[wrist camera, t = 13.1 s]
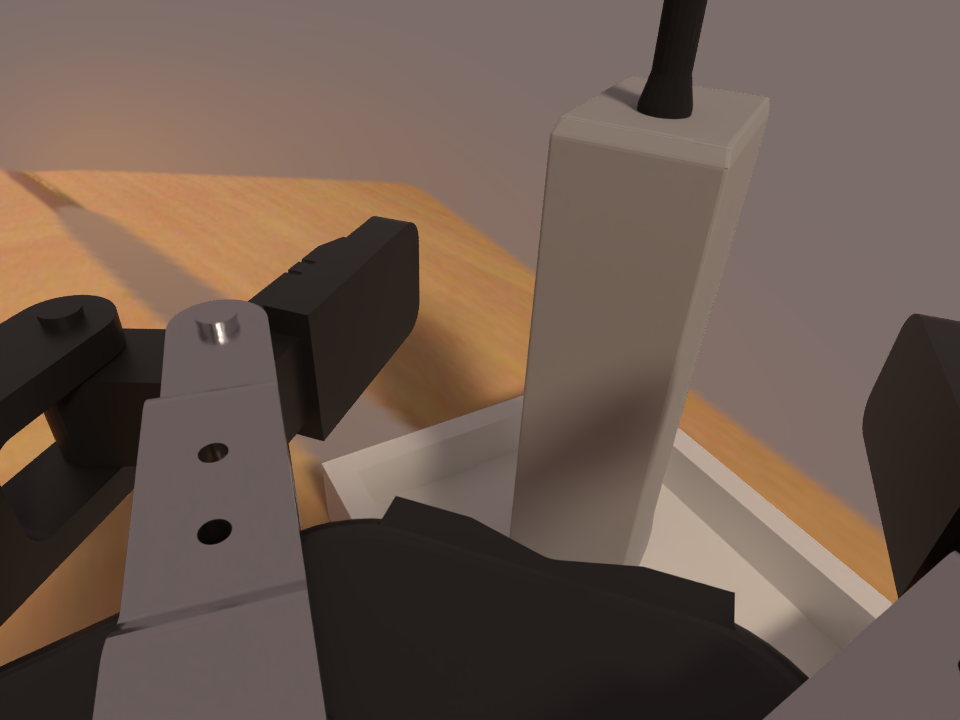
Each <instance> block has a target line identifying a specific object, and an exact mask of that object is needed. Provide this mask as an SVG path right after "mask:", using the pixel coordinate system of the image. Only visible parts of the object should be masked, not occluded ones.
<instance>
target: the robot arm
mask: <svg viewBox="0 0 960 720" xmlns="http://www.w3.org/2000/svg"><path fill="white" fill-rule="evenodd" d="M418 310H419V236H418V230H417V227H416V225H415V224H414V223H411V222H405V221H400V220H394V219H388V218H383V217H377V216H373V217H371V218H370V219H368V220H367V221H366V222H365V223H364V224H362V225H361V226H360V227H359V228H357V229H356V230H355V231H354V232H352V233H351V234H350V235H349V236H348V237H342V238H339V239H336V240H334V241H331V242H328V243H326V244H323V245H321V246H318V247H317V248H316V249H314V250H313V251H312V252H310V253H309V254H308V255H307V256H305V257H304V258H303V259H302V262H298V263H296V264H295V265H294V266H293V267H291V268H290V269H289V270H288V273H284V274H282V275H281V276H280V277H278V278H277V279H276V280H275V281H273V282H272V283H271V284H270V285H268V286H267V287H266V288H264V289H263V290H262V291H261V292H259V293H258V294H257V295H255V296H254V297H253V298H252V299H250V300H249V301H248V302H247V301H242V300H216V301H209V302H205V303H201V304H198V305H195V306H192V307H190V308H187V309H185V310H183V311H182V312H180V313H178V314H177V315H176V316H174V317H173V318H172V319H171V320H170V321H169V323H168V325H167V327H166V329H122V326H121V322H120V319H119V316H118V313H117V310H116V307H115V305H114V304H113V303H112V302H111V301H110V300H108V299H105V298H102V297H98V296H92V295H73V296H64V297H59V298H54V299H50V300H47V301H44V302H41V303H38V304H35V305H33V306H31V307H28V308H27V309H25V310H23V311H21V312H19V313H18V314H16V315H14V316H13V317H11V318H9V319H8V320H6V321H4V322H3V323H1V324H0V450H1V448H2V447H3V445H4V444H5V443H6V442H7V441H8V440H9V439H10V438H11V437H13V436H14V435H15V434H16V433H18V432H19V431H20V430H22V429H23V428H24V427H25V426H27V425H28V424H29V423H31V422H32V421H33V420H34V419H36V418H37V417H38V416H40V415H41V414H42V413H44V415H45V417H46V420H47V422H48V424H49V427H50V429H51V431H52V433H53V436H54V438H55V440H56V442H54V443H53V444H52V445H51V446H50V447H48V448H47V449H46V450H45V451H44V452H42V453H41V454H40V455H39V456H38V457H36V458H35V459H34V460H33V461H32V462H30V463H29V464H28V465H27V466H26V467H24V468H23V469H22V470H21V471H20V472H19V473H17V474H16V475H15V476H14V477H13V478H11V479H10V480H9V481H8V482H7V483H5V484H4V485H3V486H2V487H1V486H0V626H1V625H2V624H3V623H4V622H5V621H6V620H7V619H8V618H9V617H10V616H11V615H12V614H13V613H14V612H15V611H16V610H17V609H18V608H19V607H20V606H21V605H22V604H23V603H24V602H25V601H26V599H27V598H28V597H29V596H30V595H31V594H32V593H33V592H34V591H35V590H36V589H37V588H38V587H39V586H40V585H41V584H42V583H43V582H44V581H45V580H46V579H47V578H48V577H49V576H50V575H51V574H52V573H53V572H54V571H55V570H56V568H57V567H58V566H59V565H60V564H61V563H62V562H63V561H64V560H65V559H66V558H67V557H68V556H69V555H70V554H71V553H72V552H73V551H74V550H75V549H76V548H77V547H78V546H79V545H80V544H81V543H82V542H83V541H84V540H85V538H86V537H87V536H88V535H89V534H90V533H91V532H92V531H93V530H94V529H95V528H96V527H97V526H98V525H99V524H100V523H101V522H102V521H103V520H104V519H105V518H106V517H107V516H108V515H109V514H110V513H111V512H112V511H113V510H114V508H115V507H116V506H117V505H118V504H119V503H120V502H121V501H122V500H123V499H124V498H125V497H126V496H127V495H128V494H129V493H130V492H131V491H132V490H133V489H134V493H133V502H132V511H131V520H130V529H129V538H128V546H127V555H126V564H125V573H124V582H123V591H122V600H121V608H120V612H119V613H117V614H115V615H113V616H111V617H108V618H106V619H104V620H102V621H100V622H97V623H95V624H93V625H91V626H89V627H86V628H84V629H82V630H80V631H78V632H75V633H73V634H71V635H69V636H67V637H64V638H62V639H60V640H58V641H56V642H53V643H51V644H49V645H47V646H45V647H43V648H40V649H38V650H36V651H34V652H32V653H29V654H27V655H25V656H23V657H21V658H18V659H16V660H14V661H12V662H10V663H7V664H5V665H3V666H1V667H0V720H960V321H954V320H949V319H943V318H937V317H932V316H926V315H921V314H913V315H911V316H910V317H909V318H908V319H907V320H906V322H905V323H904V325H903V327H902V328H901V330H900V333H899V335H898V337H897V339H896V341H895V343H894V345H893V347H892V350H891V351H890V354H889V356H888V358H887V360H886V362H885V364H884V366H883V368H882V371H881V373H880V375H879V377H878V379H877V381H876V383H875V385H874V387H873V390H872V392H871V394H870V396H869V398H868V401H867V404H866V407H865V412H864V417H863V428H862V429H863V437H864V442H865V447H866V452H867V456H868V461H869V465H870V470H871V474H872V479H873V484H874V489H875V493H876V498H877V502H878V507H879V511H880V516H881V521H882V526H883V530H884V535H885V539H886V544H887V549H888V553H889V558H890V563H891V567H892V572H893V576H894V581H895V586H896V590H897V595H898V600H897V601H896V602H894V603H893V604H892V605H891V606H890V607H889V608H888V609H887V610H885V611H884V612H883V613H882V614H881V615H880V616H879V617H878V618H876V619H875V620H874V621H873V622H872V623H871V624H870V625H869V626H867V627H866V628H865V629H864V630H863V631H862V632H861V633H860V634H858V635H857V636H856V637H855V638H854V639H853V640H852V641H851V642H849V643H848V644H847V645H846V646H845V647H844V648H843V649H842V650H840V651H839V652H838V653H837V654H836V655H835V656H834V657H833V658H831V659H830V660H829V661H828V662H827V663H826V664H825V665H824V666H823V667H821V668H820V669H819V670H818V671H817V672H816V673H815V674H814V675H812V676H811V677H810V678H809V677H808V676H807V675H806V674H805V673H804V672H802V671H801V670H800V669H799V668H798V667H797V666H796V665H795V664H794V663H793V662H792V661H791V660H789V659H788V658H787V657H786V656H784V655H783V654H782V653H780V652H779V651H778V650H777V649H775V648H774V647H773V646H772V645H770V644H769V643H767V642H766V641H764V640H763V639H761V638H760V637H758V636H757V635H755V634H753V633H752V632H750V631H749V630H747V629H745V628H744V627H742V626H740V625H738V624H736V623H734V618H735V593H734V592H731V591H727V590H724V589H720V588H717V587H713V586H710V585H706V584H703V583H699V582H696V581H692V580H689V579H685V578H682V577H678V576H675V575H671V574H668V573H664V572H661V571H657V570H654V569H650V568H647V567H643V566H630V565H617V564H604V563H591V562H578V561H565V560H555V559H551V558H547V557H545V556H543V555H540V554H539V553H537V552H535V551H533V550H531V549H529V548H527V547H526V546H524V545H522V544H520V543H518V542H516V541H514V540H513V539H511V538H509V537H507V536H505V535H503V534H501V533H500V532H498V531H496V530H494V529H492V528H490V527H488V526H487V525H485V524H483V523H481V522H479V521H477V520H475V519H474V518H472V517H468V516H465V515H461V514H458V513H454V512H451V511H447V510H444V509H440V508H437V507H433V506H430V505H426V504H423V503H419V502H416V501H412V500H409V499H405V498H402V497H398V496H395V498H394V499H393V501H392V503H391V504H390V506H389V508H388V509H387V511H386V513H385V514H384V516H383V518H382V519H378V518H363V519H349V520H341V521H334V522H330V523H325V524H321V525H317V526H313V527H310V528H307V529H304V530H302V527H301V521H300V514H299V508H298V501H297V495H296V488H295V482H294V475H293V469H292V462H291V456H290V450H289V444H288V443H289V442H290V441H291V440H292V439H293V437H294V436H295V435H296V434H299V435H303V436H307V437H310V438H314V439H317V440H321V441H324V440H325V439H326V438H327V436H328V435H329V434H330V433H331V432H332V430H333V429H334V428H335V427H336V425H337V424H338V423H339V422H340V420H341V419H342V418H343V417H344V415H345V414H346V413H347V412H348V410H349V409H350V408H351V407H352V405H353V404H354V403H355V402H356V400H357V399H358V398H359V397H360V395H361V394H362V393H363V392H364V390H365V389H366V388H367V387H368V385H369V384H370V383H371V382H372V380H373V379H374V378H375V377H376V375H377V374H378V373H379V372H380V370H381V369H382V368H383V367H384V365H385V364H386V363H387V362H388V360H389V359H390V358H391V357H392V355H393V354H394V353H395V352H396V350H397V349H398V348H399V347H400V345H401V344H402V343H403V342H404V340H405V339H406V338H407V337H408V335H409V334H410V333H411V331H412V329H413V327H414V325H415V322H416V319H417V315H418Z"/></svg>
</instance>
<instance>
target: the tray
mask: <svg viewBox="0 0 960 720" xmlns="http://www.w3.org/2000/svg"><path fill="white" fill-rule="evenodd" d="M523 398H524V395H522V396H519V397H516V398H513V399H510V400H507V401H504V402H501V403H498V404H495V405H492V406H490V407H487V408H484V409H481V410H478V411H475V412H472V413H469V414H466V415H463V416H460V417H457V418H454V419H451V420H448V421H445V422H442V423H439V424H436V425H433V426H430V427H427V428H424V429H421V430H418V431H415V432H412V433H409V434H406V435H403V436H401V437H398V438H395V439H392V440H389V441H386V442H383V443H380V444H377V445H374V446H371V447H368V448H365V449H362V450H359V451H356V452H353V453H350V454H347V455H344V456H341V457H338V458H335V459H332V460H329V461H326V462H323V463H322V471H323V479H324V487H325V494H326V502H327V510H328V517H329V519H330V521H331V522H334V521H341V520H349V519H363V518H378V519H382V518H383V516H384V514H385V513H386V511H387V509H388V508H389V506H390V504H391V503H392V501H393V499H394V498H395V496H398V497H402V498H405V499H409V500H412V501H416V502H419V503H423V504H426V505H430V506H433V507H437V508H440V509H444V510H447V511H451V512H454V513H458V514H461V515H465V516H468V517H472V518H474V519H475V520H477V521H479V522H481V523H483V524H485V525H487V526H488V527H490V528H492V529H494V530H496V531H498V532H500V533H501V534H503V535H505V536H507V537H509V536H510V526H511V517H512V507H513V497H514V487H515V477H516V467H517V457H518V447H519V437H520V427H521V418H522V408H523ZM639 566H643V567H647V568H650V569H654V570H657V571H661V572H664V573H668V574H671V575H675V576H678V577H682V578H685V579H689V580H692V581H696V582H699V583H703V584H706V585H710V586H713V587H717V588H720V589H724V590H727V591H731V592H734V593H735V618H734V623H736V624H738V625H740V626H742V627H744V628H745V629H747V630H749V631H750V632H752V633H753V634H755V635H757V636H758V637H760V638H761V639H763V640H764V641H766V642H767V643H769V644H770V645H772V646H773V647H774V648H775V649H777V650H778V651H779V652H780V653H782V654H783V655H784V656H786V657H787V658H788V659H789V660H791V661H792V662H793V663H794V664H795V665H796V666H797V667H798V668H799V669H800V670H801V671H802V672H804V673H805V674H806V675H807V676H808V677H809V678H810V677H811V676H812V675H814V674H815V673H816V672H817V671H818V670H819V669H820V668H821V667H823V666H824V665H825V664H826V663H827V662H828V661H829V660H830V659H831V658H833V657H834V656H835V655H836V654H837V653H838V652H839V651H840V650H842V649H843V648H844V647H845V646H846V645H847V644H848V643H849V642H851V641H852V640H853V639H854V638H855V637H856V636H857V635H858V634H860V633H861V632H862V631H863V630H864V629H865V628H866V627H867V626H869V625H870V624H871V623H872V622H873V621H874V620H875V619H876V618H878V617H879V616H880V615H881V614H882V613H883V612H884V611H885V610H887V609H888V608H889V607H890V606H891V605H892V603H891V602H890V601H889V600H887V599H886V598H885V597H884V596H883V595H881V594H880V593H879V592H878V591H876V590H875V589H874V588H873V587H872V586H870V585H869V584H868V583H867V582H866V581H864V580H863V579H862V578H861V577H859V576H858V575H857V574H856V573H855V572H853V571H852V570H851V569H850V568H848V567H847V566H846V565H845V564H844V563H842V562H841V561H840V560H839V559H838V558H836V557H835V556H834V555H833V554H831V553H830V552H829V551H828V550H827V549H825V548H824V547H823V546H822V545H821V544H819V543H818V542H817V541H816V540H814V539H813V538H812V537H811V536H810V535H808V534H807V533H806V532H805V531H803V530H802V529H801V528H800V527H799V526H797V525H796V524H795V523H794V522H793V521H791V520H790V519H789V518H788V517H786V516H785V515H784V514H783V513H782V512H780V511H779V510H778V509H777V508H775V507H774V506H773V505H772V504H771V503H769V502H768V501H767V500H766V499H765V498H763V497H762V496H761V495H760V494H758V493H757V492H756V491H755V490H754V489H752V488H751V487H750V486H749V485H748V484H746V483H745V482H744V481H743V480H741V479H740V478H739V477H738V476H737V475H735V474H734V473H733V472H732V471H730V470H729V469H728V468H727V467H726V466H724V465H723V464H722V463H721V462H720V461H718V460H717V459H716V458H715V457H713V456H712V455H711V454H710V453H709V452H707V451H706V450H705V449H704V448H703V447H701V446H700V445H699V444H698V443H696V442H695V441H694V440H693V439H692V438H690V437H689V436H688V435H687V434H685V433H684V432H683V431H682V430H681V429H679V428H678V429H677V433H676V436H675V440H674V443H673V447H672V451H671V454H670V458H669V461H668V465H667V468H666V472H665V476H664V479H663V483H662V486H661V490H660V494H659V497H658V501H657V504H656V508H655V511H654V518H653V525H652V531H651V535H650V538H649V542H648V545H647V548H646V550H645V553H644V555H643V557H642V560H641V562H640V564H639Z"/></svg>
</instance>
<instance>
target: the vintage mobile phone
mask: <svg viewBox="0 0 960 720" xmlns="http://www.w3.org/2000/svg"><path fill="white" fill-rule="evenodd" d="M706 4H707V0H664V3H663V10H662V15H661V20H660V26H659V32H658V37H657V43H656V49H655V54H654V60H653V65H652V71H651V73H650V75H649V78H648V79H646V78H640V77H633V76H630V77H628V78H626V79H625V80H623V81H621V82H619V83H617V84H616V85H614V86H612V87H610V88H609V89H607V90H605V91H604V92H602V93H600V94H598V95H596V96H595V97H593V98H591V99H589V100H588V101H586V102H584V103H582V104H580V105H579V106H577V107H575V108H573V109H572V110H570V111H568V112H566V113H565V114H563V115H562V116H561V117H560V118H559V119H558V121H557V123H556V125H555V126H554V128H553V130H552V132H551V134H550V141H549V151H548V161H547V172H546V181H545V190H544V200H543V210H542V220H541V230H540V240H539V250H538V260H537V269H536V279H535V289H534V299H533V309H532V319H531V329H530V338H529V348H528V358H527V368H526V378H525V388H524V398H523V408H522V418H521V427H520V437H519V447H518V457H517V467H516V477H515V487H514V497H513V507H512V517H511V526H510V536H509V538H511V539H513V540H514V541H516V542H518V543H520V544H522V545H524V546H526V547H527V548H529V549H531V550H533V551H535V552H537V553H539V554H540V555H543V556H545V557H547V558H551V559H555V560H565V561H578V562H591V563H604V564H617V565H630V566H639V564H640V562H641V560H642V557H643V555H644V553H645V550H646V548H647V545H648V542H649V538H650V535H651V531H652V525H653V518H654V511H655V508H656V504H657V501H658V497H659V494H660V490H661V486H662V483H663V479H664V476H665V472H666V468H667V465H668V461H669V458H670V454H671V451H672V447H673V443H674V440H675V436H676V433H677V429H678V425H679V422H680V418H681V415H682V411H683V408H684V404H685V400H686V397H687V393H688V390H689V386H690V382H691V379H692V375H693V371H694V368H695V364H696V361H697V357H698V354H699V350H700V346H701V343H702V339H703V336H704V332H705V329H706V325H707V322H708V319H709V316H710V312H711V310H712V307H713V303H714V300H715V297H716V294H717V291H718V288H719V284H720V282H721V279H722V275H723V272H724V268H725V265H726V261H727V257H728V254H729V251H730V248H731V244H732V240H733V237H734V234H735V230H736V227H737V223H738V220H739V217H740V213H741V210H742V206H743V202H744V199H745V196H746V192H747V189H748V186H749V182H750V179H751V175H752V172H753V168H754V165H755V161H756V158H757V154H758V151H759V148H760V144H761V141H762V137H763V134H764V131H765V127H766V123H767V120H768V117H769V111H770V103H769V102H770V100H769V98H768V97H764V96H759V95H752V94H745V93H739V92H732V91H725V90H719V89H712V88H705V87H699V86H693V85H692V71H693V66H694V61H695V57H696V52H697V47H698V42H699V38H700V32H701V28H702V23H703V19H704V14H705V9H706Z"/></svg>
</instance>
